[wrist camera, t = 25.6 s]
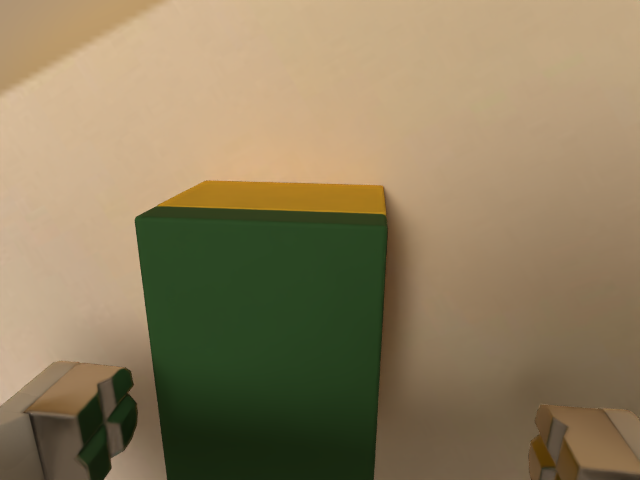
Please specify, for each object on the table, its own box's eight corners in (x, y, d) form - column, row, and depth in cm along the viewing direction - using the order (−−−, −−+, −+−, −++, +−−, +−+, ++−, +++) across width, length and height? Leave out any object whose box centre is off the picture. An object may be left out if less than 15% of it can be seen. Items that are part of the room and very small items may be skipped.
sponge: (204, 180, 13) (131, 216, 9) (383, 185, 12) (388, 225, 8) (221, 415, 15) (171, 523, 11) (371, 428, 15) (370, 545, 11)
